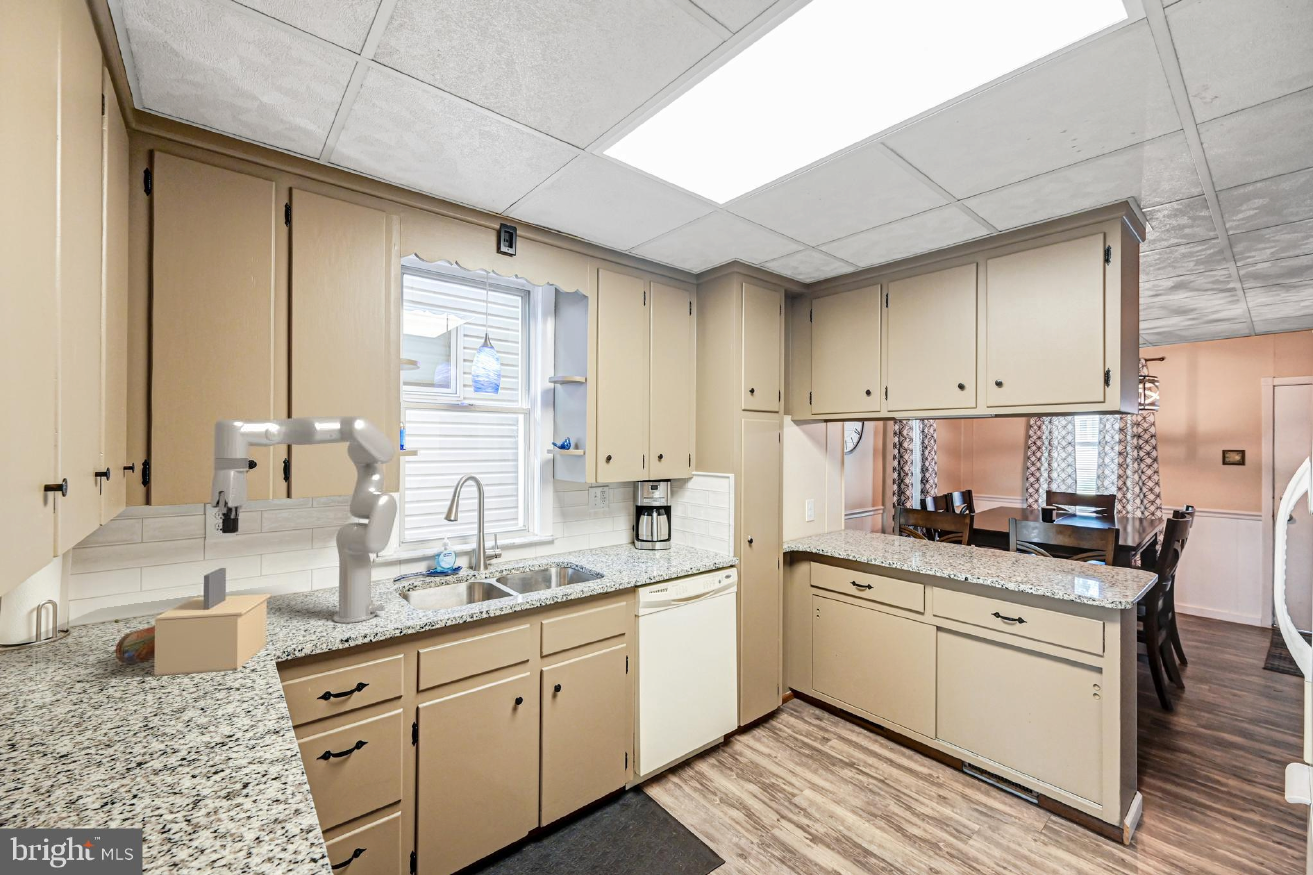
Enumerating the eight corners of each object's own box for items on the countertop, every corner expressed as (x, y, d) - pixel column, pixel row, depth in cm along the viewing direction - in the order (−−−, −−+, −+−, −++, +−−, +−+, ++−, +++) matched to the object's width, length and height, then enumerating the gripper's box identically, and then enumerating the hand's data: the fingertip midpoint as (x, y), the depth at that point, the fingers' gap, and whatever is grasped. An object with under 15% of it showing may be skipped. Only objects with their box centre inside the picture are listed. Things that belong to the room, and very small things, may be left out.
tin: (122, 669, 147) (122, 636, 147) (112, 667, 147) (113, 635, 147) (181, 648, 161) (181, 618, 161) (172, 647, 162) (173, 617, 162)
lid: (270, 595, 164) (270, 562, 164) (242, 614, 147) (242, 577, 147) (193, 599, 160) (194, 565, 160) (155, 619, 142) (155, 581, 142)
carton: (266, 645, 164) (266, 596, 164) (237, 669, 147) (237, 615, 147) (193, 650, 160) (193, 600, 160) (154, 676, 142) (155, 620, 142)
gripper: (228, 464, 160) (227, 529, 160) (200, 466, 146) (199, 537, 146) (258, 464, 162) (257, 528, 162) (234, 466, 148) (233, 536, 148)
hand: (230, 532), depth 154 cm, fingers closed
